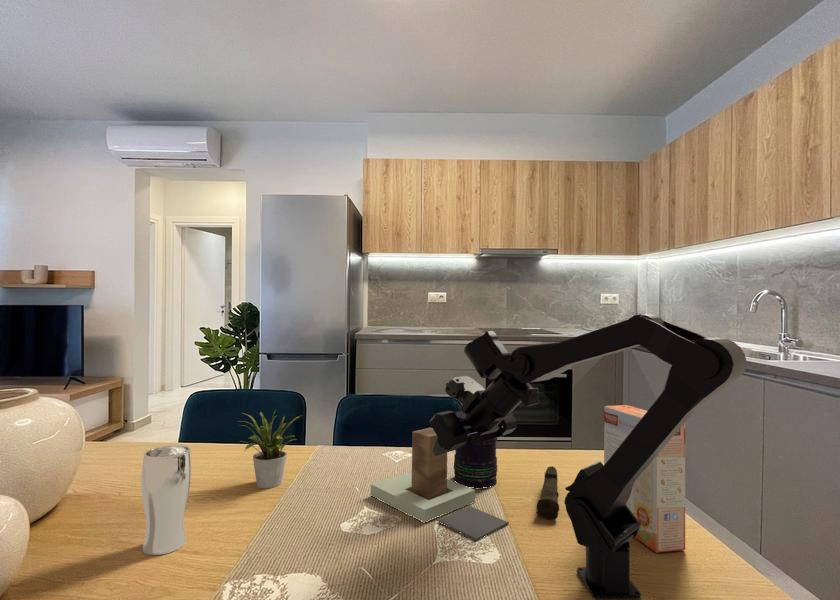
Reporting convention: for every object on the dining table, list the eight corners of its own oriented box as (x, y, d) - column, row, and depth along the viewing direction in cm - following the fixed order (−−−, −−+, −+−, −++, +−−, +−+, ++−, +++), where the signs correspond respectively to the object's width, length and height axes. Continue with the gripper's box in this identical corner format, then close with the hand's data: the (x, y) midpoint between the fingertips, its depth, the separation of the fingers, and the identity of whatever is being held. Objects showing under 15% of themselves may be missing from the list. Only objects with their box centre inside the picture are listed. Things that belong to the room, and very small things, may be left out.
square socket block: (474, 502, 89) (474, 489, 90) (424, 524, 80) (424, 509, 80) (420, 479, 101) (420, 468, 101) (370, 496, 92) (370, 484, 92)
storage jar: (459, 470, 108) (460, 408, 108) (500, 476, 104) (501, 411, 105) (448, 485, 98) (449, 417, 99) (492, 492, 95) (493, 421, 95)
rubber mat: (508, 524, 80) (508, 522, 80) (476, 541, 74) (476, 538, 74) (470, 508, 87) (470, 506, 87) (437, 522, 81) (437, 520, 81)
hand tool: (558, 523, 82) (558, 497, 82) (536, 519, 83) (536, 493, 83) (565, 486, 99) (565, 465, 99) (546, 484, 101) (546, 463, 101)
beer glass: (178, 530, 76) (180, 442, 77) (196, 544, 72) (199, 450, 72) (131, 546, 71) (135, 451, 71) (148, 562, 66) (152, 460, 67)
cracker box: (688, 551, 72) (687, 420, 73) (655, 555, 71) (655, 422, 71) (630, 513, 86) (630, 403, 86) (602, 515, 84) (602, 404, 85)
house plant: (212, 492, 92) (215, 413, 93) (252, 470, 106) (254, 400, 106) (274, 500, 89) (276, 418, 90) (307, 476, 102) (309, 404, 103)
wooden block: (446, 503, 89) (447, 432, 89) (428, 510, 86) (429, 436, 86) (429, 495, 93) (430, 427, 93) (411, 502, 89) (412, 431, 90)
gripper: (504, 360, 88) (461, 407, 96) (438, 366, 75) (395, 420, 83) (539, 407, 82) (490, 453, 90) (473, 422, 69) (423, 474, 77)
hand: (451, 448), depth 85 cm, fingers open, 9 cm apart
